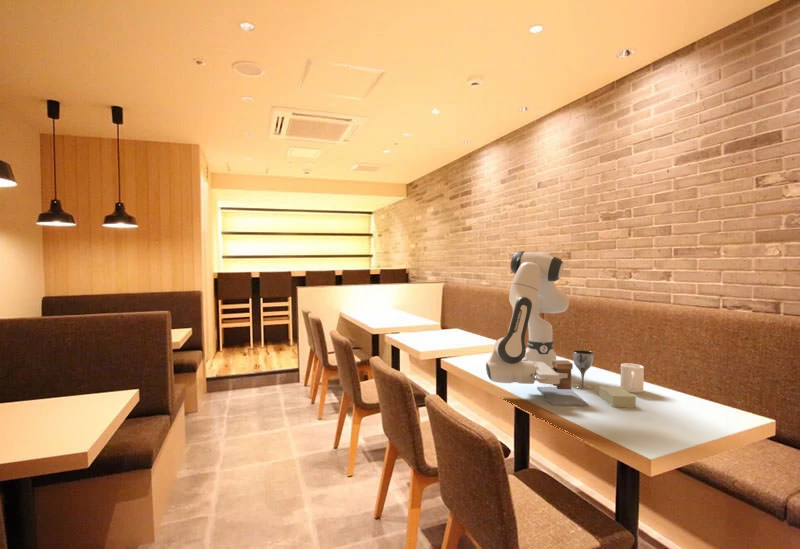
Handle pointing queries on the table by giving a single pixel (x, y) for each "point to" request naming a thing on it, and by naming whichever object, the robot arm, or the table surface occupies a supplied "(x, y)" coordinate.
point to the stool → (563, 372)
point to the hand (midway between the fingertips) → (563, 372)
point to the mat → (562, 396)
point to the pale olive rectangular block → (617, 396)
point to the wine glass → (582, 364)
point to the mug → (632, 377)
